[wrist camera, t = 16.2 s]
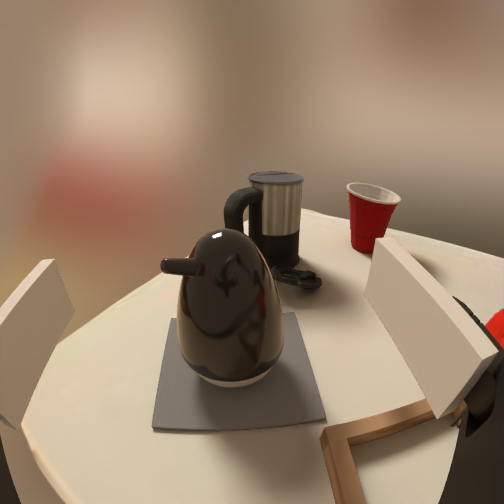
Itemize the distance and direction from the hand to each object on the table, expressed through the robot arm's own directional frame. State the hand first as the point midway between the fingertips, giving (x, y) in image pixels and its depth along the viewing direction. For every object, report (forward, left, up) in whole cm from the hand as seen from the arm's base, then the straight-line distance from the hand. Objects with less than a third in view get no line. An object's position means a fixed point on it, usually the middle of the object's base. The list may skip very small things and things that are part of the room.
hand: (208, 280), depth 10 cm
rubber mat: (-1, -11, -18) cm, 21 cm away
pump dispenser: (0, -11, -18) cm, 21 cm away
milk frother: (-9, -30, -19) cm, 37 cm away
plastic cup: (-28, -37, -18) cm, 50 cm away
